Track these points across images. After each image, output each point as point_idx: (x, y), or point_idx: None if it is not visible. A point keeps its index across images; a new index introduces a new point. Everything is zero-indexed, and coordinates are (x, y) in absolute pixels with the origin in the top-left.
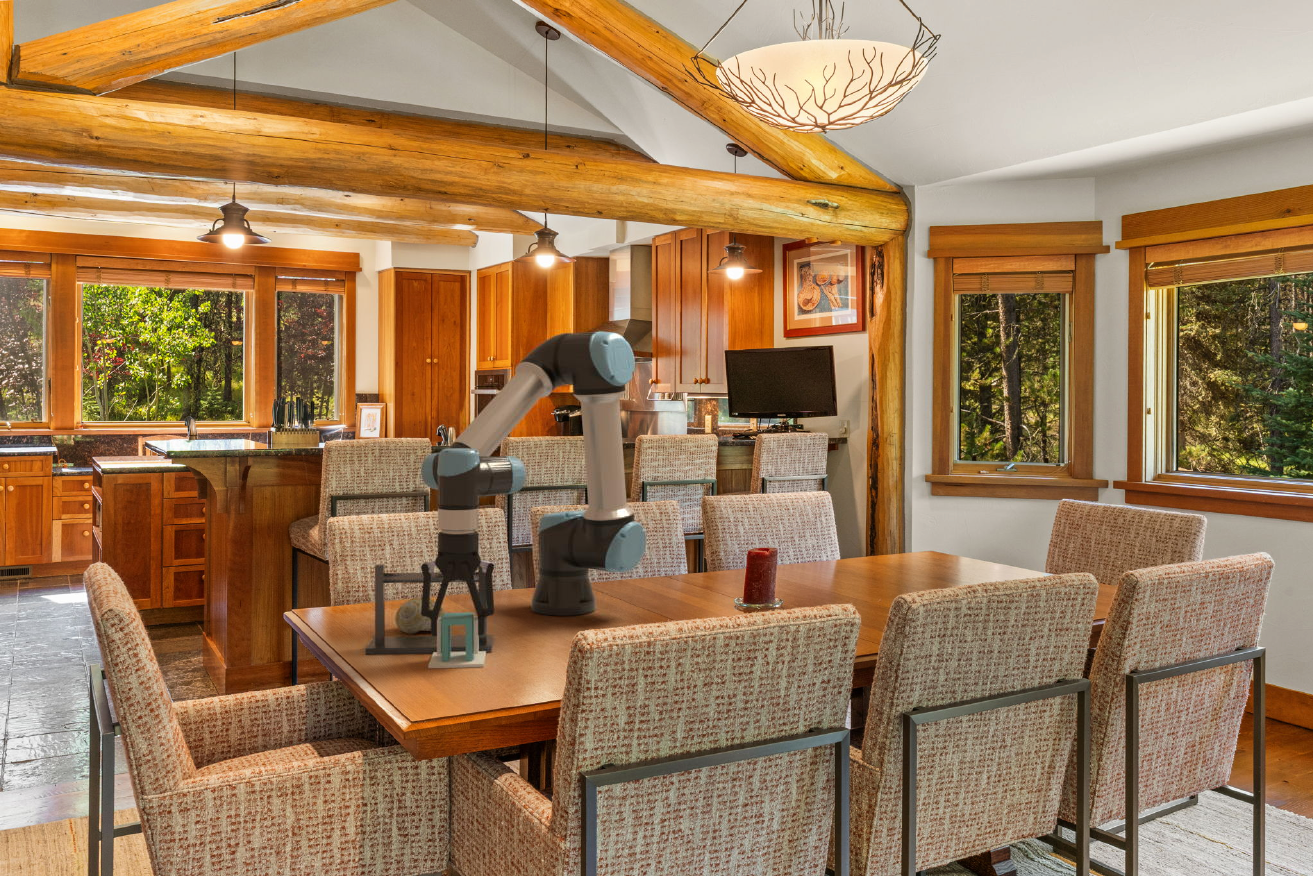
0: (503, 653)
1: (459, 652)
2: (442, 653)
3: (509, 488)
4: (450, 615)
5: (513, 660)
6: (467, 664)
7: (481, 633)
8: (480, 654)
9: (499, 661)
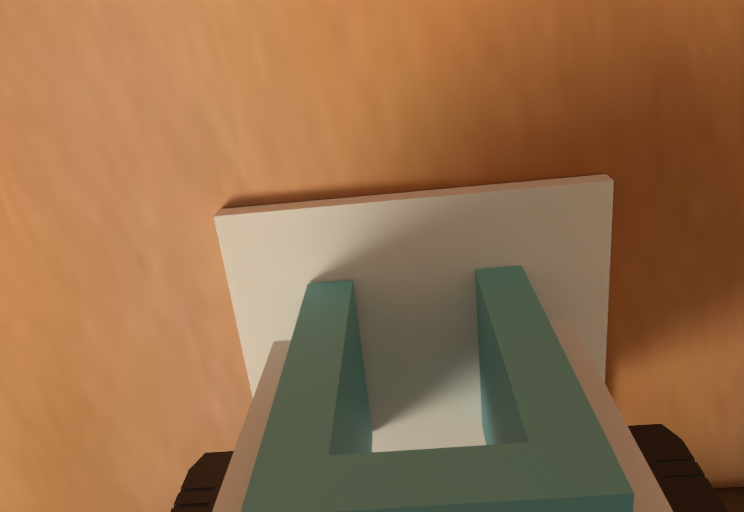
0: (178, 493)
1: None
2: (528, 291)
3: None
4: None
5: (72, 362)
6: (325, 204)
7: (215, 463)
8: None
9: (153, 341)
